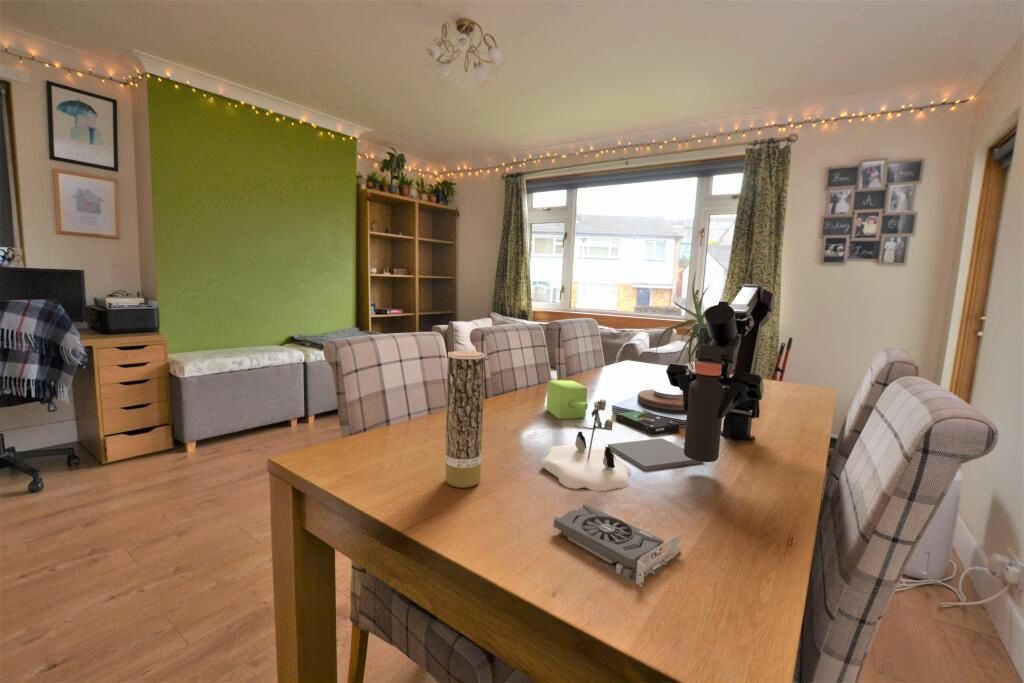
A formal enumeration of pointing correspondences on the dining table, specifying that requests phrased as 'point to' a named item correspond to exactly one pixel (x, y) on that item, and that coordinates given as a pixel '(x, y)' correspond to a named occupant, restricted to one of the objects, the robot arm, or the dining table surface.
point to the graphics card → (618, 543)
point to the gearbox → (566, 399)
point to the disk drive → (648, 422)
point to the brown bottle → (704, 413)
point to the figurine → (588, 461)
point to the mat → (652, 454)
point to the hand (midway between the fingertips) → (702, 413)
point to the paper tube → (464, 418)
